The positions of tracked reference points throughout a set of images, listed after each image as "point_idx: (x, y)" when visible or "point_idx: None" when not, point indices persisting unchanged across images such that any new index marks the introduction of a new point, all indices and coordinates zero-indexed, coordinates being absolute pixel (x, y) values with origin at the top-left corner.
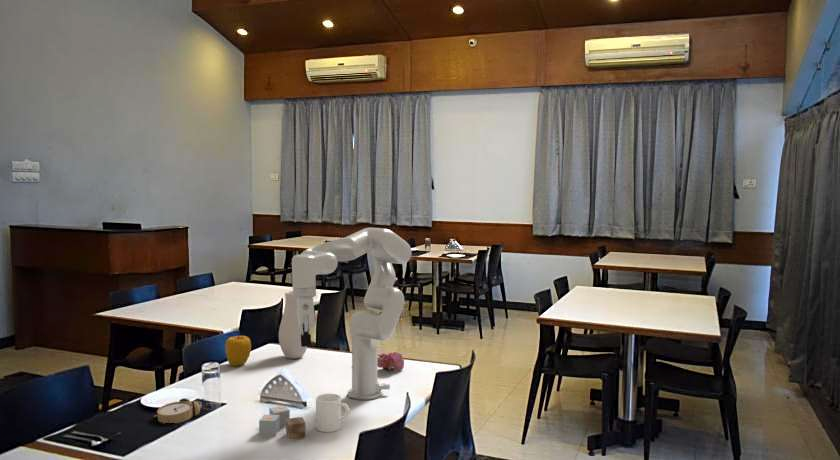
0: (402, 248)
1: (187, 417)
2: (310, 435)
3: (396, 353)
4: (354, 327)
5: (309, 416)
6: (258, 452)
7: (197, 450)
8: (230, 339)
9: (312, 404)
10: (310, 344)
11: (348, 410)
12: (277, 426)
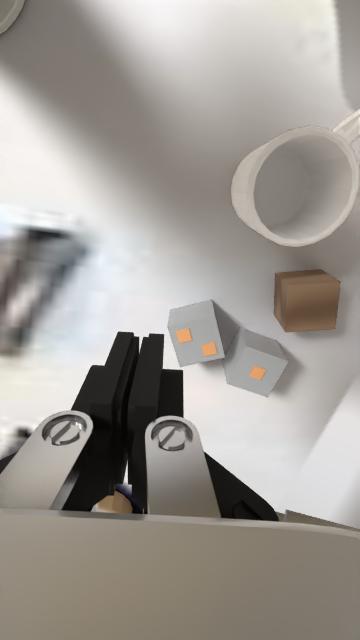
0: None
1: (119, 497)
2: (309, 253)
3: None
4: None
5: (162, 235)
6: (353, 380)
7: (286, 476)
8: None
9: (55, 210)
10: (162, 342)
11: None
12: (261, 341)
